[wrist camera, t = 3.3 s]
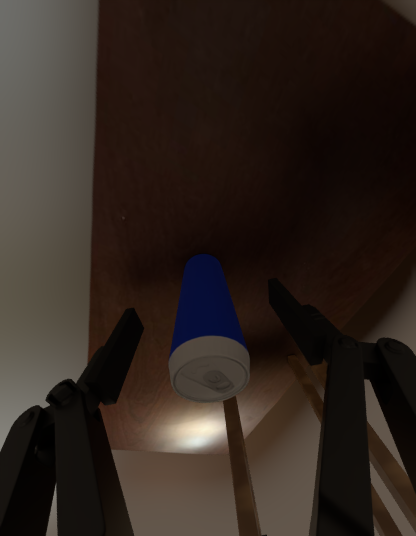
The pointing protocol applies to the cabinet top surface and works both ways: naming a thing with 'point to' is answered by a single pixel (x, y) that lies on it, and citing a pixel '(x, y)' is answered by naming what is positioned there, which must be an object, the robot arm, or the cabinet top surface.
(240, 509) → the shelf
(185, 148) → the cabinet top surface
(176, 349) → the beverage can
